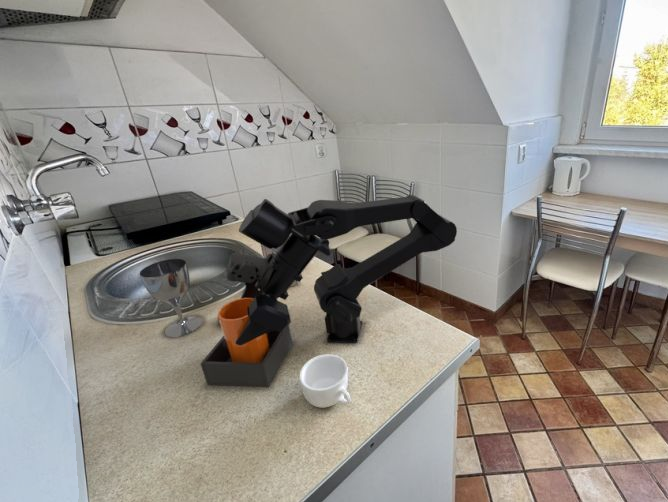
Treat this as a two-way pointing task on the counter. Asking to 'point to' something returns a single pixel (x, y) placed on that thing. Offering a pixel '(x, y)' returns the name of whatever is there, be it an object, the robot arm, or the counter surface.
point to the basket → (243, 373)
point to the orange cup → (232, 325)
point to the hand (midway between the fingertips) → (237, 328)
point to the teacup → (325, 380)
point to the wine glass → (171, 291)
